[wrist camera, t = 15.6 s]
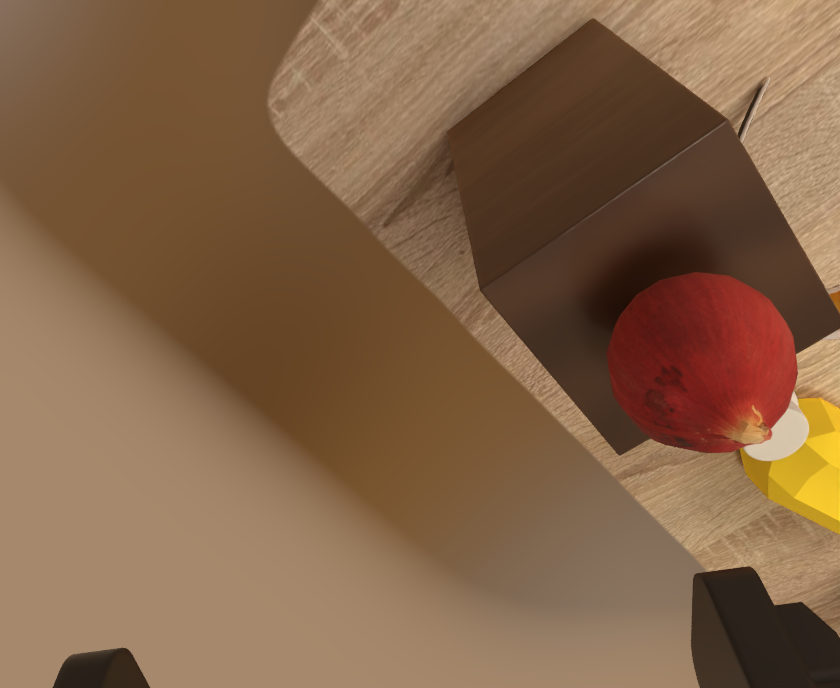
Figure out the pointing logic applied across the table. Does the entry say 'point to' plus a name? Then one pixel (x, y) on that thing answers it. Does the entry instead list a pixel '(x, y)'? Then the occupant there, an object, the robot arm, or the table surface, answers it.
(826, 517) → the low-poly banana
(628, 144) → the stand
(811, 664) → the robot arm
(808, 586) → the table surface
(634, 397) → the onion
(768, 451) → the pill bottle
